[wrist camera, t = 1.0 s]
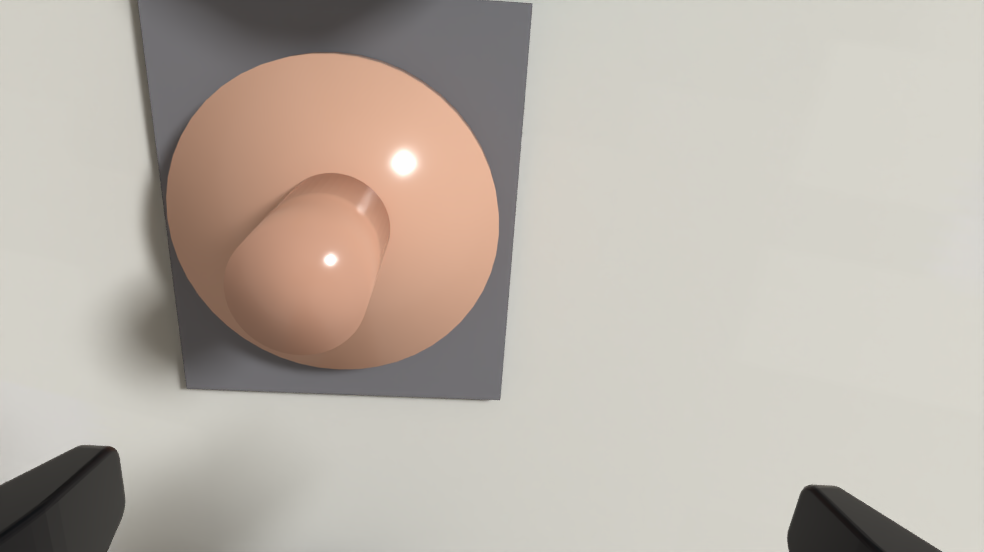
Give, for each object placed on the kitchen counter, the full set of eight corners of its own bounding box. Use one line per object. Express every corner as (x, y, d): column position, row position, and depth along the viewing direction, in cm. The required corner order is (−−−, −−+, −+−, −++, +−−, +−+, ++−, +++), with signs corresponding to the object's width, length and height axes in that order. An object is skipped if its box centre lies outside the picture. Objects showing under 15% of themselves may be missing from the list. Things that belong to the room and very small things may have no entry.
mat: (499, 393, 22) (499, 400, 22) (191, 381, 21) (186, 388, 21) (531, 3, 18) (532, 3, 17) (141, -25, 17) (134, -25, 17)
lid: (487, 359, 21) (494, 472, 16) (198, 347, 21) (109, 460, 16) (508, 62, 18) (525, 86, 13) (162, 40, 17) (34, 55, 12)
